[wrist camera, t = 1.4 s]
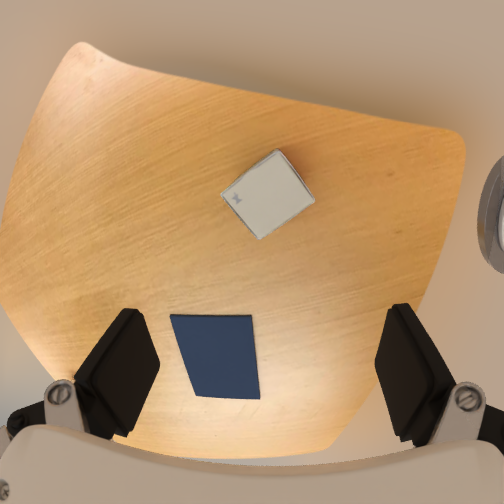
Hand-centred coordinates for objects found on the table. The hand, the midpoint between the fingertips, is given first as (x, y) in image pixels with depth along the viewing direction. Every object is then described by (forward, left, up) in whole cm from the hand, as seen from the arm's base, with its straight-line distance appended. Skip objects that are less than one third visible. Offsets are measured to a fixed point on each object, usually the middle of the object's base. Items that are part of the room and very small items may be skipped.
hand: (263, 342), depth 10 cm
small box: (0, -3, -18) cm, 18 cm away
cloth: (+8, +20, -18) cm, 28 cm away
